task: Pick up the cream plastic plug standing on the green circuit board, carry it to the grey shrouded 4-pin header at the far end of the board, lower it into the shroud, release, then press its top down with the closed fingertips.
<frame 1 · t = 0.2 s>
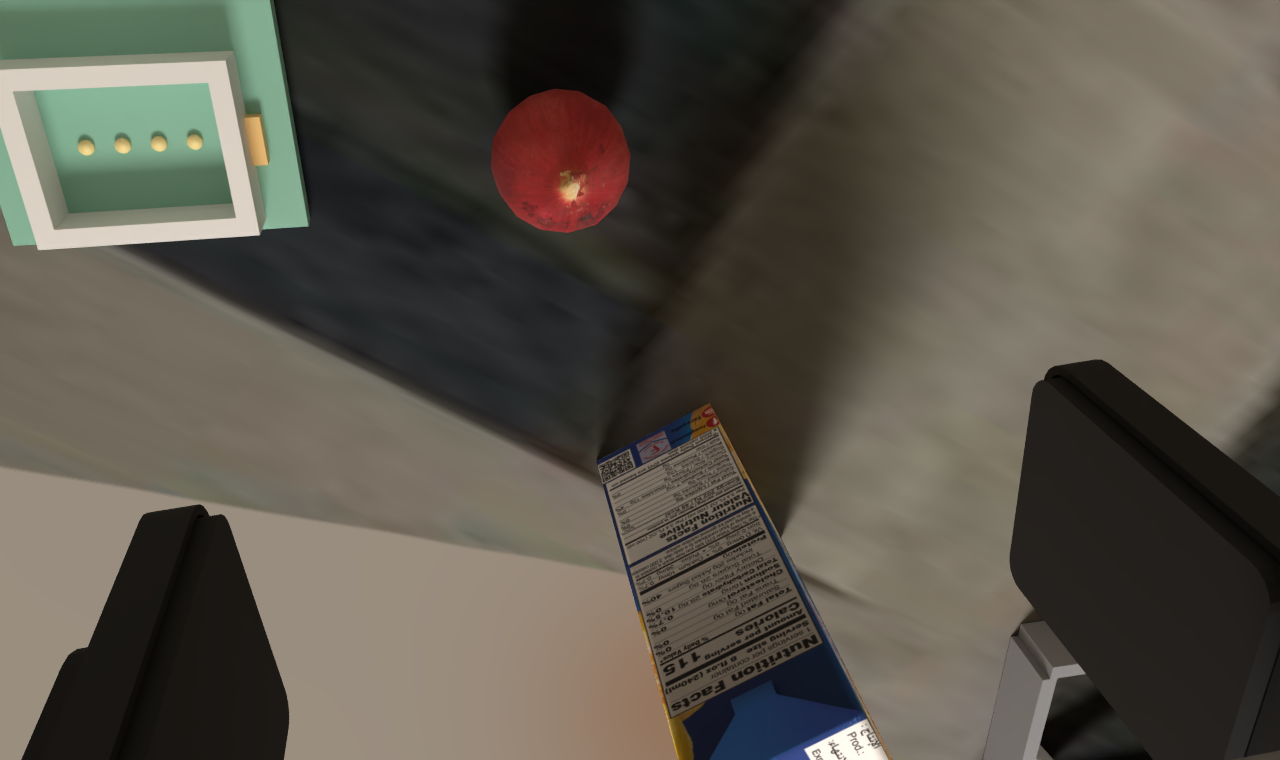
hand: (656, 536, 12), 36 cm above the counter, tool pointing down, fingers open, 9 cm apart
beverage box: (692, 499, 57), on the counter
rack: (1182, 691, 73), on the counter
onion: (551, 137, 46), on the counter
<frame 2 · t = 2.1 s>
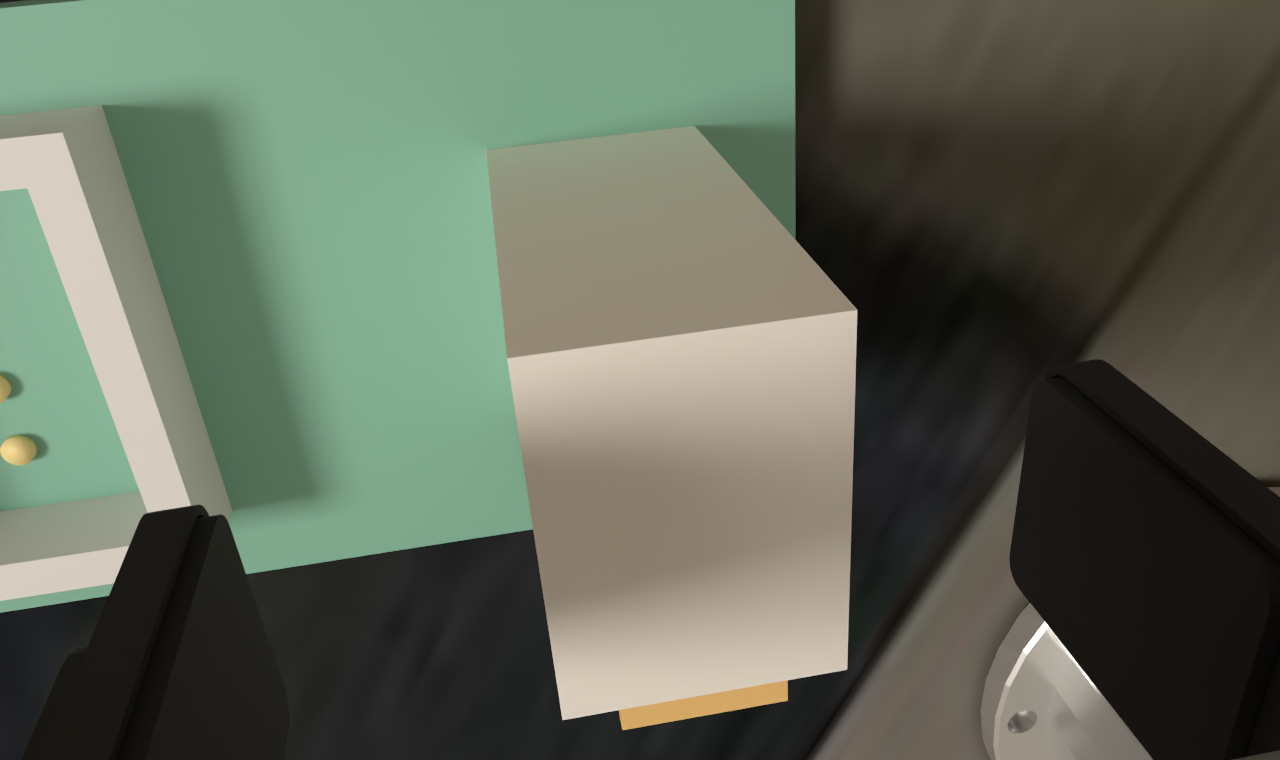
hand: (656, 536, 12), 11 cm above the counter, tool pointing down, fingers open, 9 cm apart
board: (309, 292, 21), on the counter
plug: (604, 272, 20), point 1 cm above the counter, touching board
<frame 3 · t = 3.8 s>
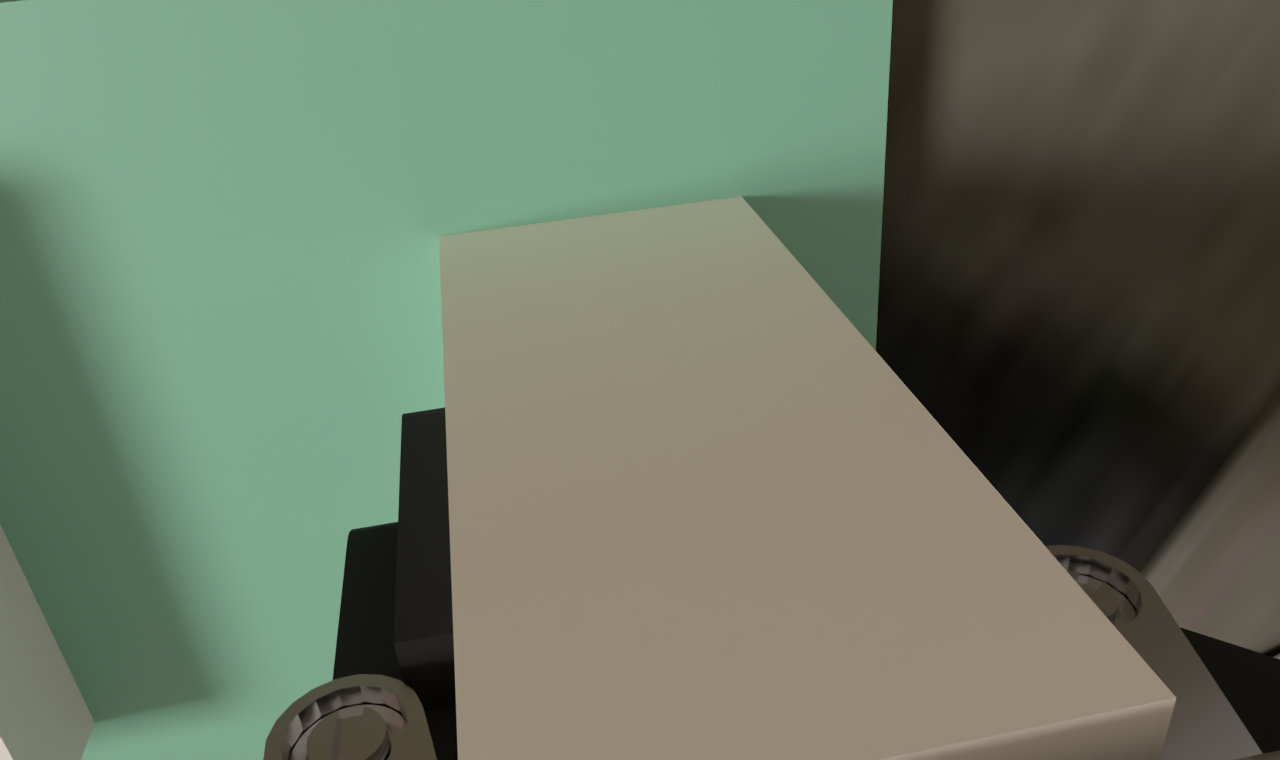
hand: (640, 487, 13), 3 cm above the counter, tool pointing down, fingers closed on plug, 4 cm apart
board: (192, 427, 15), on the counter
plug: (610, 397, 15), point 1 cm above the counter, touching board, gripper
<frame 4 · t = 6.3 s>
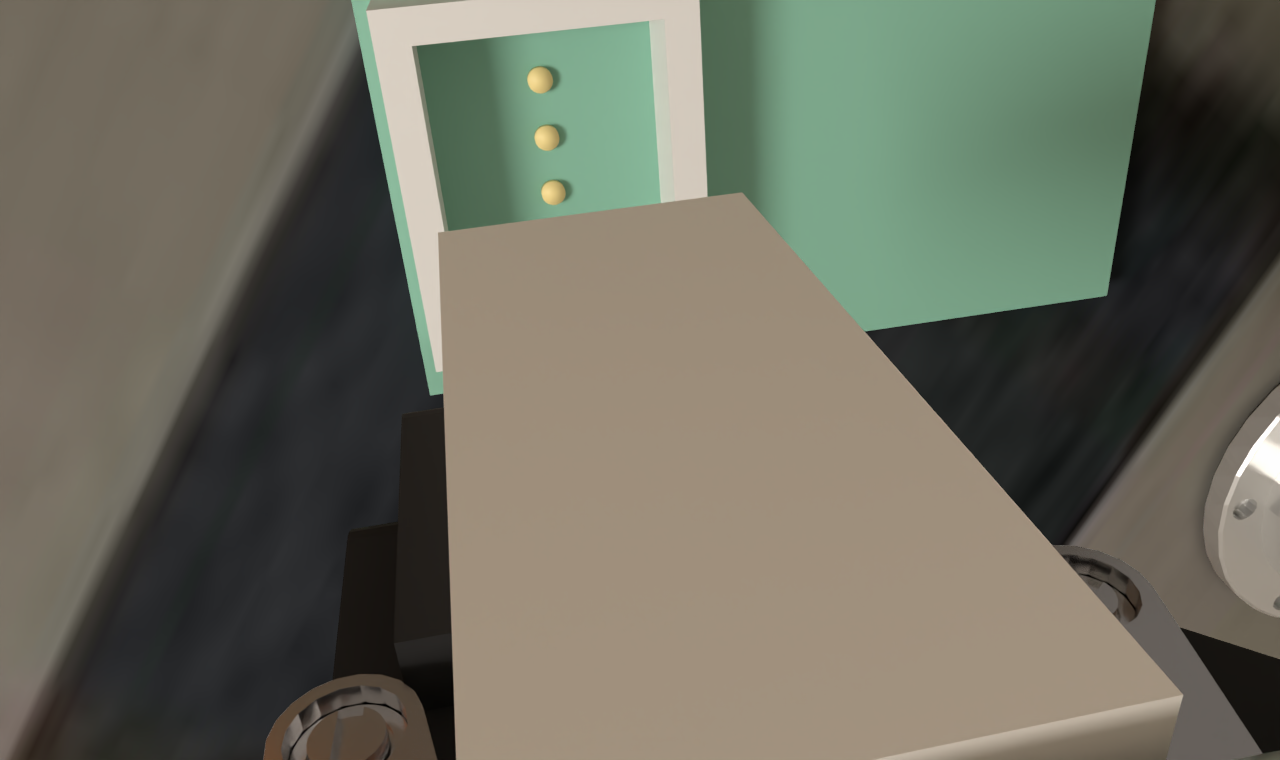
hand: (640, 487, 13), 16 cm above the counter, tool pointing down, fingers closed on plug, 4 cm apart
board: (770, 126, 27), on the counter
plug: (611, 394, 14), point 13 cm above the counter, touching gripper
when the fingers open (4 cm above the counter, at t = 8.8 s): plug stays where it is, resting on board.
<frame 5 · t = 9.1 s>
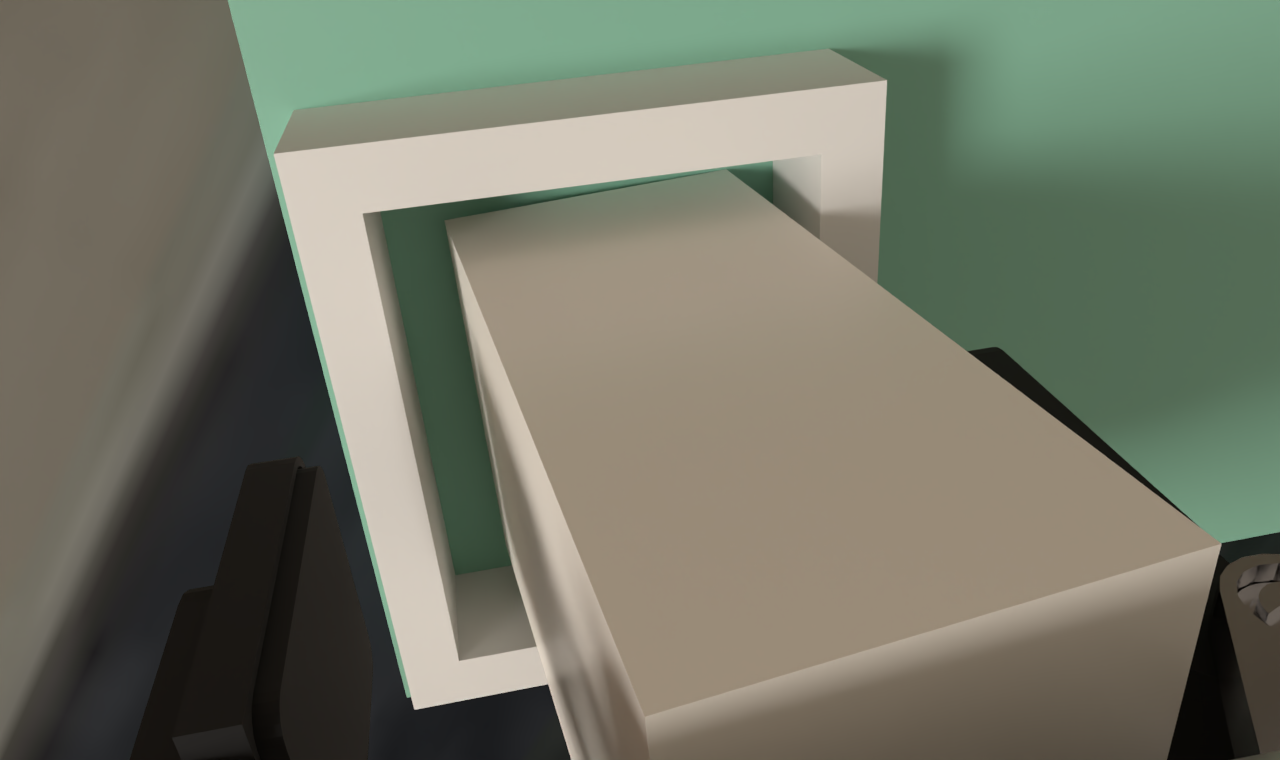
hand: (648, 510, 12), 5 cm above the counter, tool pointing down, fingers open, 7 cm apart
board: (942, 284, 17), on the counter
plug: (609, 369, 15), point 1 cm above the counter, tilted 6°, touching board
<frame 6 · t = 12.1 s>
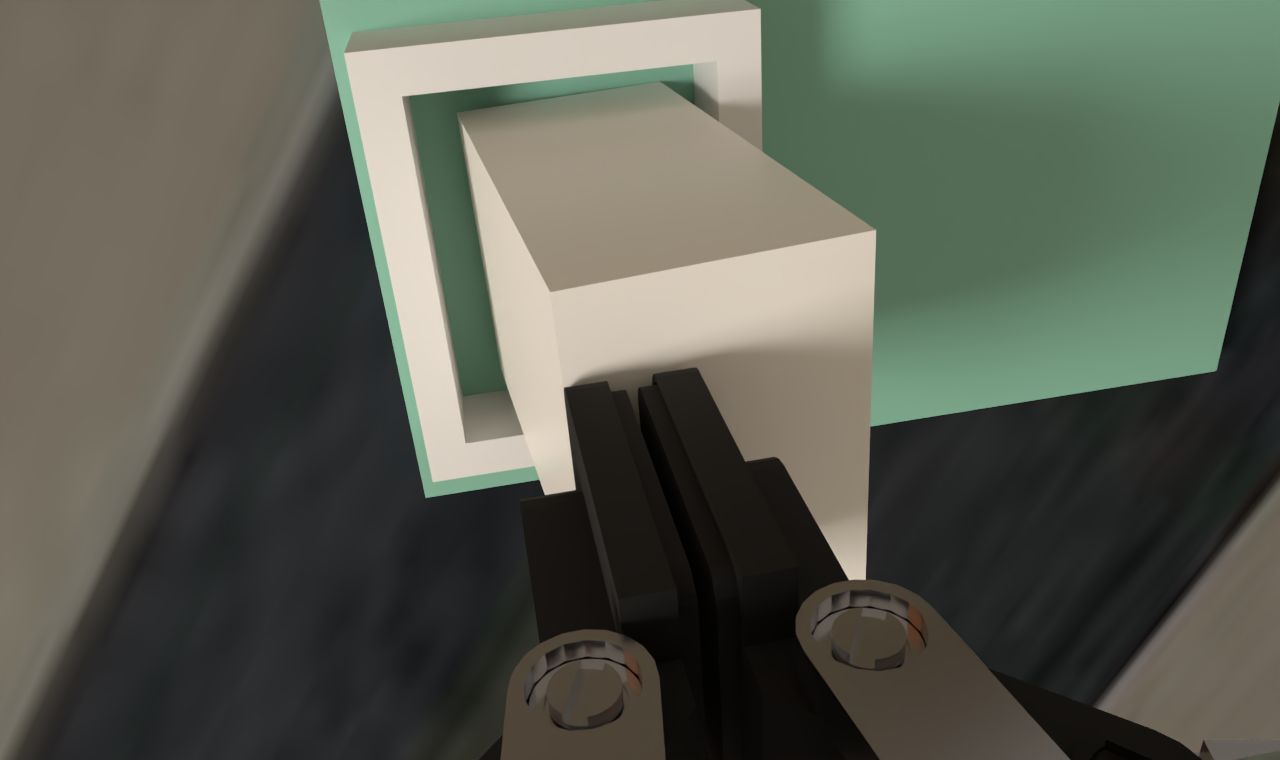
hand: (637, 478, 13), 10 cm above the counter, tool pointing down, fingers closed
board: (831, 179, 22), on the counter
plug: (576, 231, 21), point 1 cm above the counter, tilted 6°, touching board, gripper
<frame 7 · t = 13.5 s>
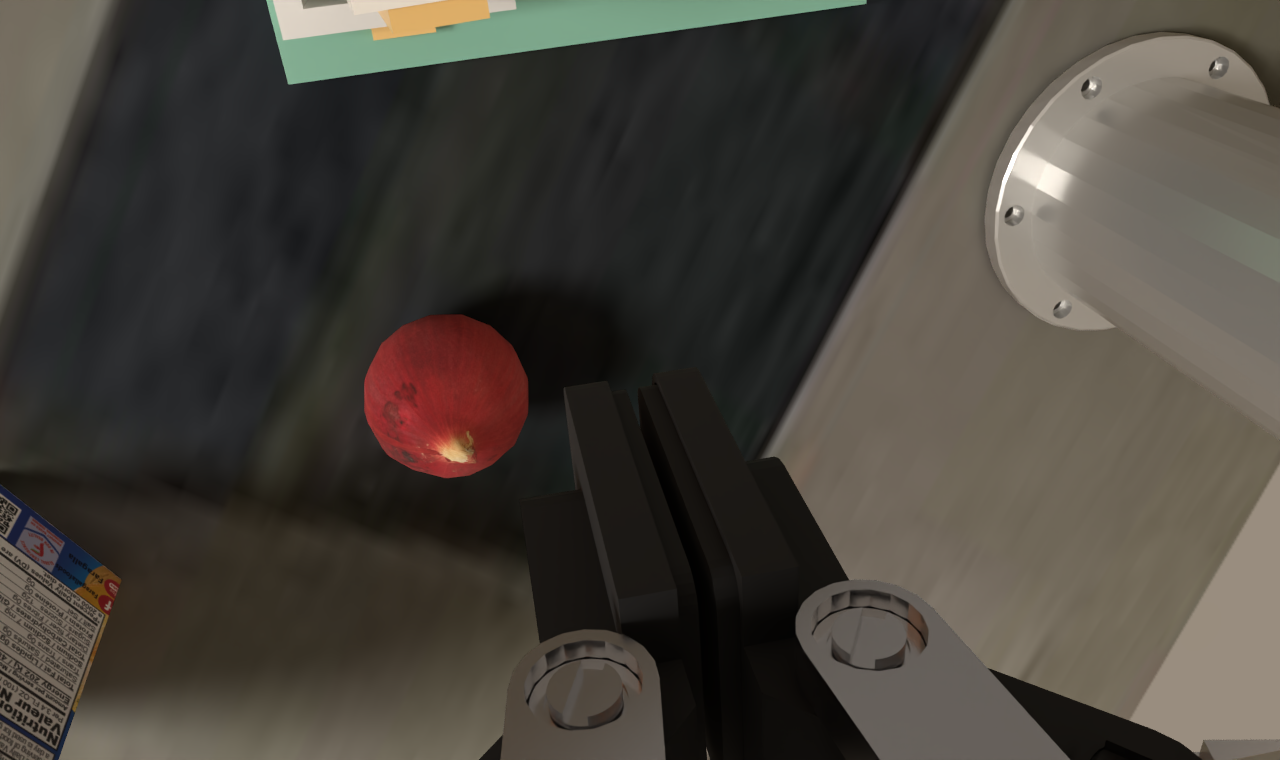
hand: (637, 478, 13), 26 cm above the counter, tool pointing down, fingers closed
onion: (442, 347, 40), on the counter
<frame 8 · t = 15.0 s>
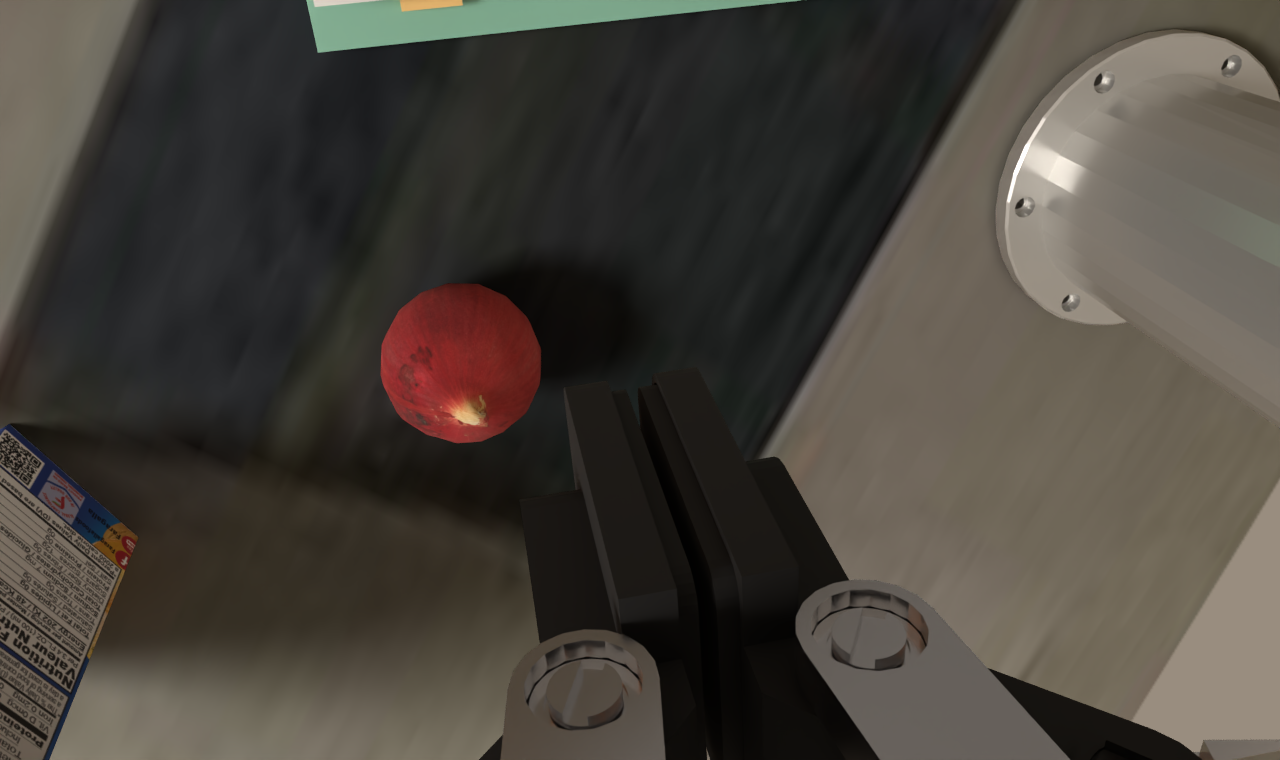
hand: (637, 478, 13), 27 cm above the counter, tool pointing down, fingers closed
onion: (458, 318, 41), on the counter
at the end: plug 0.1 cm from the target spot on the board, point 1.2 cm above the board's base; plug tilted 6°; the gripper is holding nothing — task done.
